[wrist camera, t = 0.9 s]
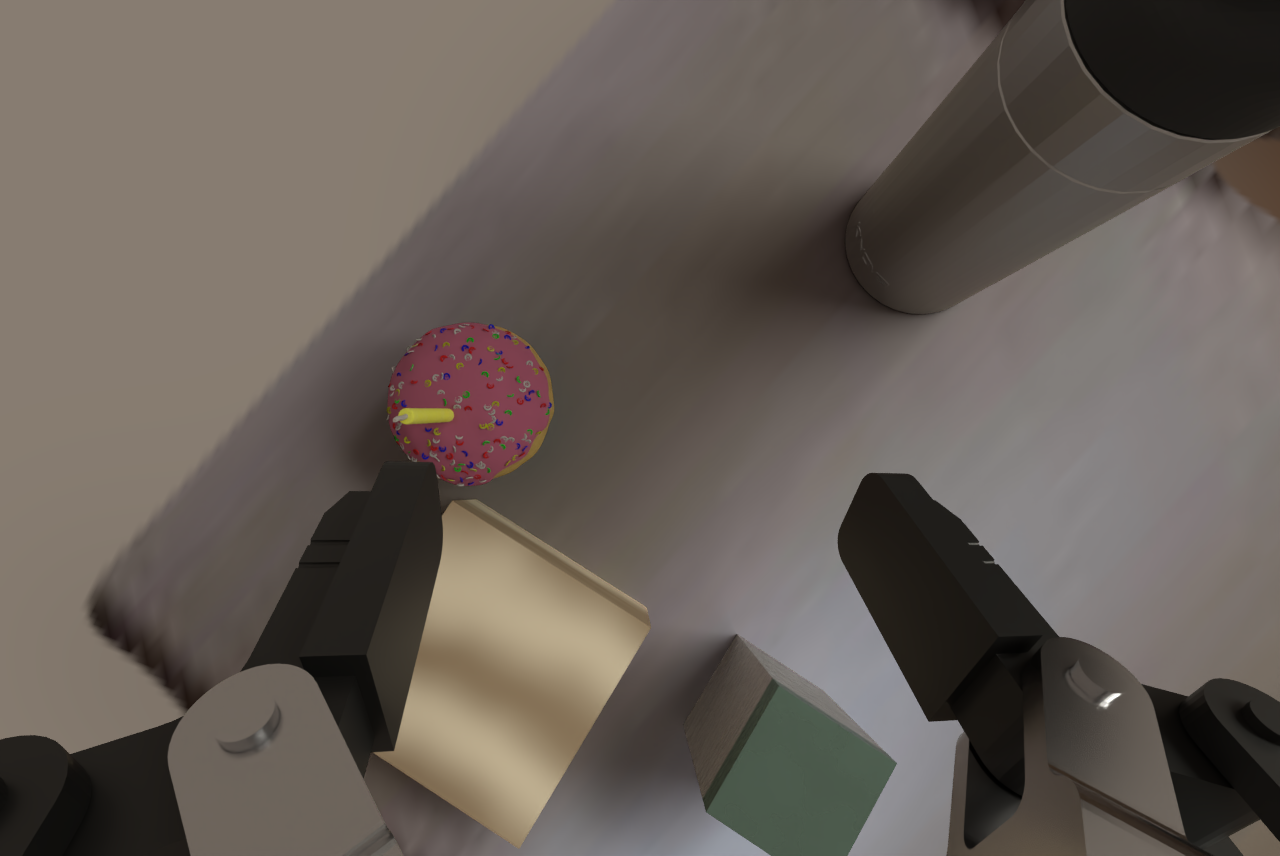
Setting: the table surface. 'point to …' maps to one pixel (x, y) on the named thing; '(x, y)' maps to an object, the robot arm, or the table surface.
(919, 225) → the robot arm
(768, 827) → the tea tin
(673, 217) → the table surface
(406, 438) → the cupcake
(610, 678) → the birch box
